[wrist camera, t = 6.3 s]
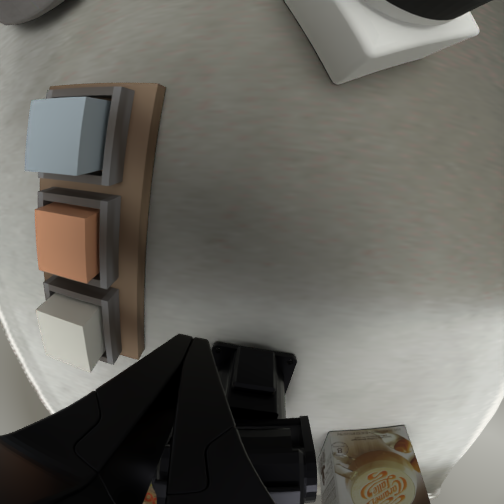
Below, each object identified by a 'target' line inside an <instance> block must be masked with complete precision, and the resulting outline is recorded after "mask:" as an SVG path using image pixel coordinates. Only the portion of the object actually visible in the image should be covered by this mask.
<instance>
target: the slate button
mask: <svg viewBox="0 0 504 504" xmlns="http://www.w3.org/2000/svg"><path fill="white" fill-rule="evenodd" d="M110 106H111V101H108V100H102V99H97V98H91V97H65V98H50V99H38V100H31V106H30V113H29V121H28V130H27V140H26V154H25V171H32V172H43V173H54V174H64V175H73V176H78V175H82V174H86V173H90V172H95V171H99V170H103V159H104V149H105V141H106V133H107V126H108V119H109V112H110Z"/></svg>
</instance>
